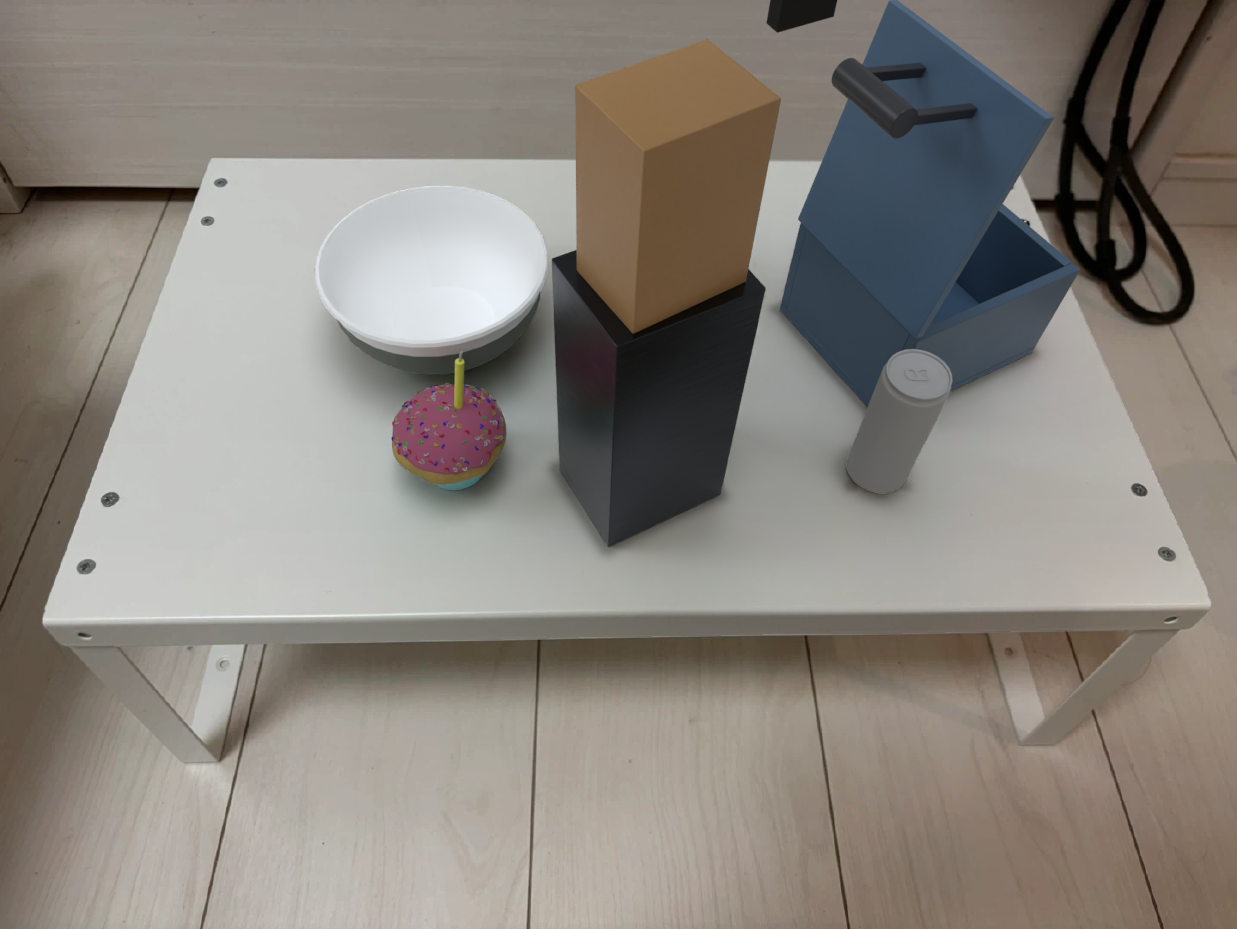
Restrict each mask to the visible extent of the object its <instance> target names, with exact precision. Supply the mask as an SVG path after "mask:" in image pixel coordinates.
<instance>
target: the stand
mask: <svg viewBox="0 0 1237 929" xmlns="http://www.w3.org/2000/svg"><path fill="white" fill-rule="evenodd" d="M551 279H552V280H551V282H552V283H551V284H552V303H553V304H552V308H553V331H554V332H553V333H554V359H555V386H556V387H555V388H556V408H557V409H556V410H557V433H558V434H557V436H558V459H559V460H558V464H559V465H558V466H559V471H560V473H561V475H562V476H563V478H564V479H565V481H566V483H568V486H569V487H570V489H571V491H572V493H573V494H574V495H575V497H576V499H577V500H578V502H579V503H580V505H581V506H582V508H583V510H584V511H585V513H586V514H587V516H588V517H589V519H590V521H591V522H592V524H593V525H594V527H595V529H596V531H597V532H598V534H599V535H600V536H601V539H602V540H603V541H604V543H605V545H606V546H607V547H608V548H610V547H612V546H614V545H616V544H619V543H621V542H623V541H625V540H627V539H630V538H631V537H634V536H635V535H638V534H640V533H642V532H644V531H646V530H648V529H651V528H653V527H655V526H657V525H659V524H662V523H663V522H666V521H667V520H670V519H672V518H675V517H676V516H678V515H680V514H683V513H685V512H687V511H689V510H691V509H693V508H695V507H698V506H699V505H702V504H704V503H706V502H708V501H711V500H713V499H715V498H716V497H719V496H721V495H722V490H723V487H724V486H723V485H724V481H725V477H726V472H727V467H728V463H729V458H730V454H731V449H732V446H733V445H732V444H733V441H734V435H735V431H736V427H737V421H738V417H739V413H740V408H741V404H742V400H743V396H744V395H743V394H744V390H745V387H746V386H745V385H746V381H747V377H748V373H749V372H748V371H749V367H750V362H751V357H752V354H753V348H754V344H755V340H756V335H757V330H758V327H759V325H758V324H759V321H760V318H761V313H762V308H763V303H764V298H765V294H766V290H767V289H766V286H765V285H764V284H763V283H762V282H761V280H759V278H758V277H757V276H756V275H755V274H754V273H753V272H752V271H751V270H750V268H748V273H747V279H746V282H744V283H742V284H740V285H738V286H735V287H733V288H731V289H729V290H727V291H725V292H723V293H720V294H718V295H716V296H714V297H712V298H710V299H708V300H705V301H703V302H701V303H699V304H697V305H695V306H692V307H690V308H688V309H686V310H684V311H682V312H680V313H677V314H675V315H673V316H671V317H669V318H667V319H664V320H662V321H660V322H658V323H656V324H654V325H652V326H649V327H647V328H645V329H643V330H641V331H639V332H636V333H634V334H633V333H632V332H631V331H630V330H629V329H628V328H627V327H626V326H625V324H624V323H623V322H622V321H621V320H620V319H619V318H618V317H617V315H616V314H615V313H614V312H613V311H612V310H611V309H610V307H609V306H608V305H607V304H606V303H605V302H604V301H603V300H602V298H601V297H600V296H599V295H598V294H597V293H596V292H595V291H594V289H593V288H592V287H591V286H590V285H589V284H588V283H587V281H586V280H585V279H584V278H583V277H582V276H581V275H580V274H579V272H578V271H577V249H574V250H572V251H569V252H566V253H564V254H560V255H557V256H555V257H552V258H551Z"/></svg>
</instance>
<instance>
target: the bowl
mask: <svg viewBox="0 0 1237 929" xmlns="http://www.w3.org/2000/svg"><path fill="white" fill-rule="evenodd" d="M549 256H550V254H549V250H548V246H547V242H546V239H545V237H544V235H543V233H542V232H541V230H540V228H539V227H538V225H537V224H536V223H535V222H534V221H533V219H531V217H530V216H529V215H528V214H527V213H526V212H524V211H523V210H522V209H521V208H520V207H518V206H517V205H515V204H513V203H512V202H510V201H509V200H506V199H504V198H503V197H500V196H498V195H495V194H493V193H491V192H487V191H483V190H480V189H476V188H472V187H465V186H458V185H457V186H456V185H425V186H424V185H423V186H416V187H408V188H403V189H401V190H397V191H392V192H389V193H386V194H384V195H381V196H378V197H376V198H374V199H371V200H369V201H367V202H365V203H364V204H362V205H360V206H358V207H357V208H355V209H353V210H352V211H350V212H349V213H348V214H346V215H345V216H344V217H343V218H342V219H341V220H339V221H338V222H337V223H336V224H335V226H334V227H333V228H332V229H331V230H330V232H328V234H327V235H326V237H325V238H324V240H323V243H321V246H320V248H319V250H318V252H317V255H316V260H315V264H314V269H313V272H314V286H315V288H316V292H317V294H318V297H319V299H320V301H321V303H322V304H323V306H324V307H325V309H327V310H326V311H328V312H329V314H330V315H331V316H332V317H333V318H334V319H335V320H337V322H338V325H339V327H340V329H341V330H342V331H343V333H344V334H345V335H346V336H347V339H348V340H349V341H350V342H351V343H352V344H354V345H355V347H357V348H358V349H360V350H361V351H362V352H363V353H365V354H366V355H367V356H369V357H371V358H372V359H374V360H376V361H378V362H379V363H381V364H383V365H385V366H386V367H389V368H393V369H396V370H399V371H402V372H405V373H412V374H418V375H446V374H455V360H456V359H458V358H459V354H460V351H463V354H462V359H463V360H464V372H466V371H467V370H471V369H473V368H477V367H480V366H483V365H485V364H487V363H488V362H490V361H493V360H495V359H497V358H498V357H499V356H500V355H502V354H504V353H505V352H506V351H508V350H509V349H510V348H511V347H512V346H513V345H514V344H515V343H516V342H517V341H518V340H519V339H520V337H521V336H522V335H523V334H524V332H525V331H526V330H527V329H528V327H529V325H530V324H531V323H532V321H533V319H534V317H535V315H536V313H537V310H538V307H539V303H540V300H541V291H542V289H543V287H544V285H545V283H546V280H547V276H548V273H549V269H550V268H549V266H550V264H549V263H550V262H549Z"/></svg>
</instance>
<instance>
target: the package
mask: <svg viewBox="0 0 1237 929" xmlns="http://www.w3.org/2000/svg"><path fill="white" fill-rule="evenodd" d="M781 102H782V97H780V95H778V94H777V93H776V92H775V91H773V89H771V88H769V87H768V86H767V85H766V84H765V83H763V82H762V81H761V80H760V79H758V78H757V77H756V76H754V74H753V73H751V72H750V71H749V70H747V69H746V68H745V67H743V66H742V65H741V64H740V63H738V62H737V61H736V60H735V59H733V57H731V56H730V55H728V53H726V52H724V50H722V49H721V48H720V47H718V46H717V45H716V44H715V43H714V42H712V40H710V39H708V38H707V39H703V40H701V41H698V42H695V43H692V44H690V45H686V46H683V47H680V48H678V49H675V50H672V51H669V52H666V53H663V54H660V55H657V56H654V57H652V58H649V59H645V60H643V61H640V62H637V63H634V64H631V65H628V66H625V67H623V68H620V69H618V70H614V71H611V72H608V73H606V74H603V75H600V76H597V77H594V78H590V79H588V80H585V81H583V82H579V83H576V84H575V85H574V110H575V111H574V116H575V117H574V118H575V120H574V122H575V126H574V127H575V208H576V209H575V219H576V220H575V221H576V223H575V224H576V227H575V230H576V232H575V235H576V237H575V239H576V240H575V241H576V250H577V271H578V272H579V274H580V275H581V276H582V277H583V278H584V279H585V280H586V281H587V283H588V284H589V285H590V286H591V287H592V288H593V289H594V291H595V292H596V293H597V294H598V295H599V296H600V297H601V298H602V300H603V301H604V302H605V303H606V304H607V305H608V306H609V307H610V309H611V310H612V311H613V312H614V313H615V314H616V315H617V317H618V318H619V319H620V320H621V321H622V322H623V323H624V324H625V326H626V327H627V328H628V329H629V330H630V331H631V332H632V333H633V334H634V333H636V332H639V331H641V330H643V329H645V328H647V327H649V326H652V325H654V324H656V323H658V322H660V321H662V320H664V319H667V318H669V317H671V316H673V315H675V314H677V313H680V312H682V311H684V310H686V309H688V308H690V307H692V306H695V305H697V304H699V303H701V302H703V301H705V300H708V299H710V298H712V297H714V296H716V295H718V294H720V293H723V292H725V291H727V290H729V289H731V288H733V287H735V286H738V285H740V284H742V283H744V282H746V279H747V273H748V269H750V268H749V267H750V263H751V258H752V251H753V248H754V243H755V242H754V241H755V237H756V231H757V226H758V220H759V217H760V216H759V215H760V211H761V206H762V201H763V195H764V191H765V185H766V179H767V174H768V169H769V165H770V159H771V155H772V148H773V144H774V139H775V133H776V130H777V122H778V118H779V112H780V107H781Z"/></svg>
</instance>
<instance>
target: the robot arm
mask: <svg viewBox="0 0 1237 929" xmlns="http://www.w3.org/2000/svg"><path fill="white" fill-rule="evenodd" d="M837 4H838V0H769V6H768V10H767V11H768V12H767V18H766V25H768V26H769V27H770V29H772V30H773V31H775V32H776V33H777V34H778V33H781V32H785V31H789V30H792V29H795V28H800V27H803V26H807V25H810V24H813V23H816V22H817V23H818V22H821V21H824V20H827V19H830V18H834V17H835V14H836V9H837Z"/></svg>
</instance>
